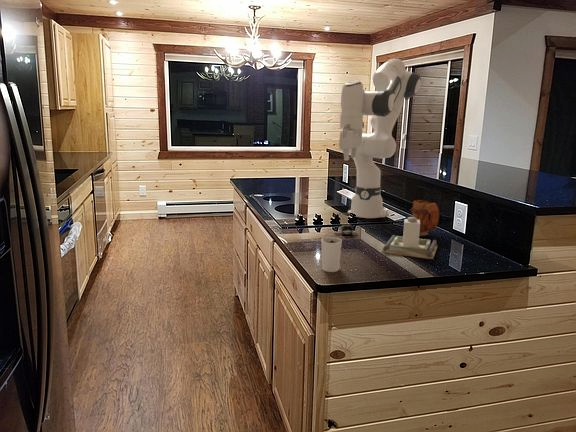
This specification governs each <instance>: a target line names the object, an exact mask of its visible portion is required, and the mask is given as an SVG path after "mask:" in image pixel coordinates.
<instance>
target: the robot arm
mask: <svg viewBox="0 0 576 432" xmlns="http://www.w3.org/2000/svg"><path fill="white" fill-rule="evenodd" d="M372 83H373V86H374V88H375V89H376V90H365V89H364V84H363V82H361V81H349V82H346V83H344V84H343V85H342V89H341V96H340V108H341V109H340V110H341V111H340V115H339V116H340V117H339V129H341V130H340V132H339V142H338V149H339V150H342V154H343V161H349V160H350V158H351V159H352V160H353V161H354V164H355V168H356V185H355V188H354V190H355V194H354V195H353V196H352V197H351V203H350V204H351V205H350V209H349V210H347V214H349V215H351V214H350V213H353V214H355V215H356V216H355V217H356V218H365V219H377V218H387V207H385V206H383V200H384V199H383V197H382V195H381V193H382V189H381V172H382V171H381V169H380V168H379V166H377V165H376V163H374V161H373V159H387V158H392V156H394V154H395V153H396V150H397V143H396V140H395V138H394V137H393V135H392V132H393V130H394V127H395V125H396V122H397V120H398V118H399V116H400V115H401V114H400V113H401V112H402V110H403V109H402V108H403V106H404V101H407V100H409V99H411V98H413V97H414V96H415V95H417V93H418V92H419V90H420V88H421V84H422V78H421V76H420V75H419V74H418V73H416V72H411V71H408V70H406V65H405V63H404V62H403V60H402V59H399V58H391V59H388V60H387V61H385V62H384V63H382V64H381V65H380V66H379V67H378V68H377V69H376V70H375V71H374V73H373V76H372ZM364 116H371V118H370V125H371V127H372V129H373V130H374V131H372V133H366V132H363V129H364V127H365V122H364V120H363V119H364Z"/></svg>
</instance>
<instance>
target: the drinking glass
mask: <svg viewBox="0 0 576 432" xmlns="http://www.w3.org/2000/svg"><path fill="white" fill-rule="evenodd" d="M342 241H343V240H342V239H341V238H340V237H336V236H325V237H322V238H321V270H323V271H324V272H327V273H328V272H329V273H335V272H338V271H340V268H341V267H340V265H341V255H342V254H341V252H342V244H343V242H342Z"/></svg>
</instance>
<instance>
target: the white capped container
mask: <svg viewBox="0 0 576 432" xmlns="http://www.w3.org/2000/svg"><path fill="white" fill-rule="evenodd" d="M419 232H420V220H417V218H416V217H412V216H408V217H407V218H404V221H403V235H402V237H403V246H407V247H415V248H418V245H419V239H420V236H419Z"/></svg>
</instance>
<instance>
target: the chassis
mask: <svg viewBox="0 0 576 432" xmlns="http://www.w3.org/2000/svg"><path fill="white" fill-rule="evenodd" d="M431 242H432V243H431ZM437 243H438V242H437V240H436V239H433V240H431V239H427V238H424V239H423V238H419V245H418V248H415V247H407V246H403V235H402V236H401V235H395V234H393V235H391V237H390V238H389V240H388V241H387V242H386V244H385V245H384V246H383V247H382V251H381V253H384V254H390V255H391V254H392V255H400V256H406V257H413V258H421V259H429V260H434V257H435V255H436V252H437V249H438V244H437Z"/></svg>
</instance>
